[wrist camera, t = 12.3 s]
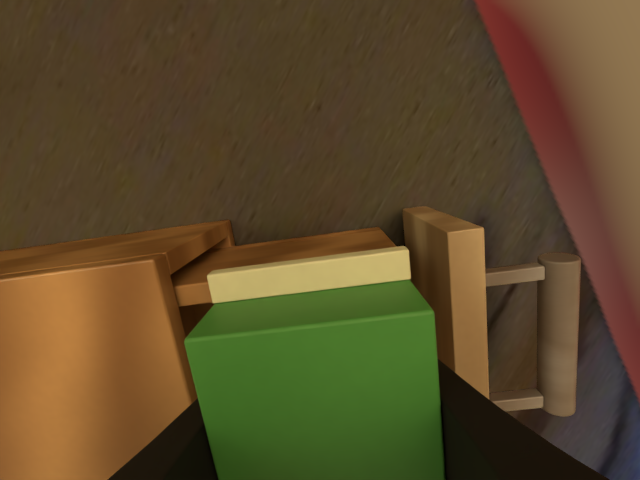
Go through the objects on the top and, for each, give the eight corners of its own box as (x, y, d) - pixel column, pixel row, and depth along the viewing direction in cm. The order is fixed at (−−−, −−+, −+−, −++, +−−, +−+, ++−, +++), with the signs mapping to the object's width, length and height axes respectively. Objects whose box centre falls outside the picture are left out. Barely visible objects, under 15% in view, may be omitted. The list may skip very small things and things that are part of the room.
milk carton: (413, 468, 10) (455, 614, 7) (277, 480, 11) (253, 628, 7) (391, 232, 9) (432, 271, 5) (231, 253, 9) (172, 303, 6)
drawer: (518, 193, 16) (635, 207, 10) (519, 387, 19) (614, 494, 12) (172, 240, 17) (86, 279, 11) (216, 419, 19) (166, 535, 13)
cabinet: (230, 219, 18) (152, 258, 10) (269, 411, 20) (233, 566, 12) (-16, 253, 18) (-274, 315, 10) (53, 434, 21) (-111, 594, 13)
